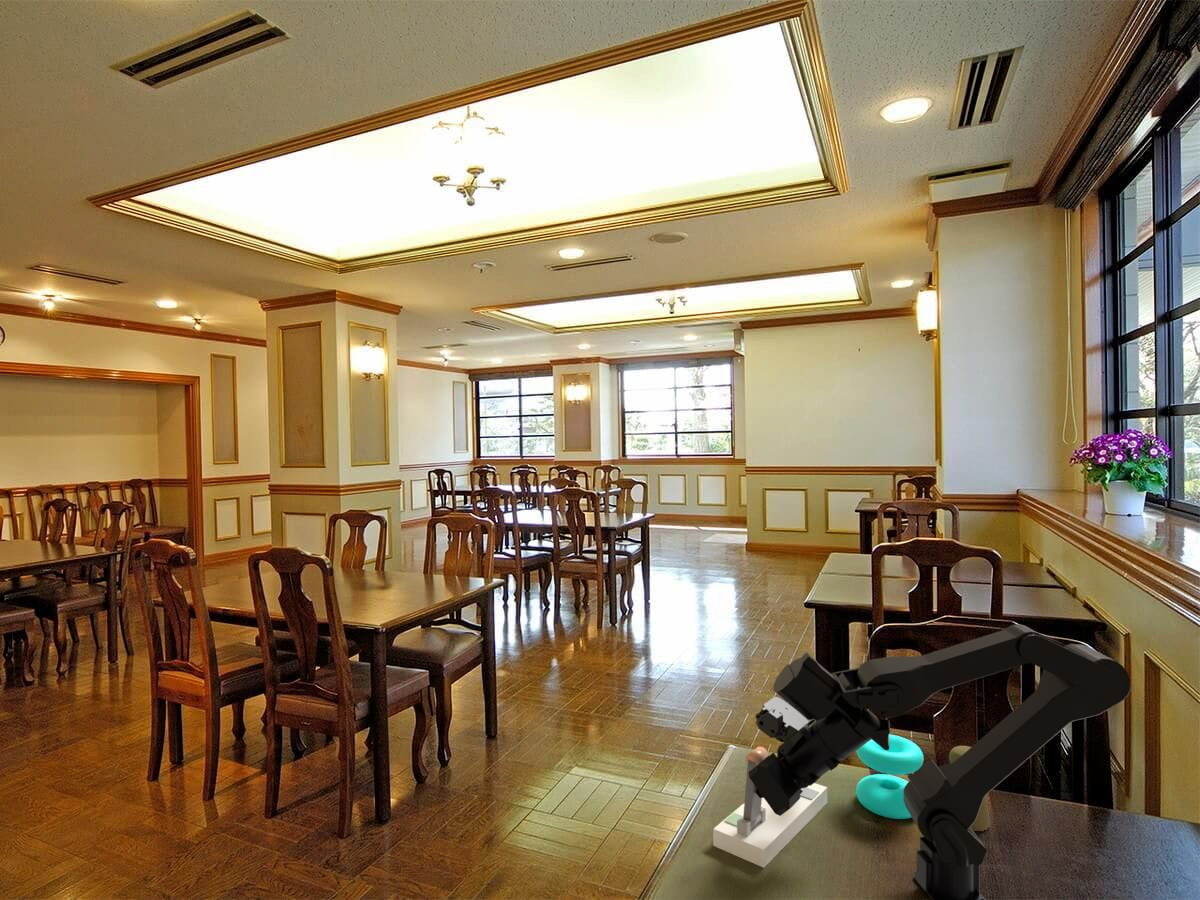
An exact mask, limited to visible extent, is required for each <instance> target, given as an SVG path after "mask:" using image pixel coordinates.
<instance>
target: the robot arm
mask: <svg viewBox="0 0 1200 900" xmlns="http://www.w3.org/2000/svg"><path fill="white" fill-rule="evenodd" d="M1028 664H1032V665H1034V666H1036V667H1037V668H1040V669H1043V671H1042V673H1041V675H1040V680H1039V682H1038V685H1037V688H1036V690H1035V691H1034V692H1033V693H1032V694H1031V695H1030V696H1029V697H1027V698H1026V699H1025V700H1024V701H1023V702H1021V704H1019V705H1018V706H1017V707H1016V708H1015V709H1014V710H1012V711H1011V712H1010V713H1009V714H1008V715H1006V716H1005V717H1004V718H1003V719H1002V720H1000V721H999V722H998V724H996V725H994V727H993V728H991V730H989V731H988V732H987V733H986V734H985V735H984V736H982V738H980V739H979V740H977V742H976V743H974V744H973V745H972V746H970V747H971V748H970V749H969V750H968V751H967V752H965V753H964V754H963V755H962V756H961V757H960V758H958V759H957V760H956V761H955V762H953V763H951V764H950V763H947V764H943V765H939V766H938V765H937V763H936V762H935V761H934V760H933V758H928V759H927V760H926V761H925V762H923V764H922V766H921V767H920V768H919V769H918V770H917V771H915V772H913V773H910V774H907V779H908V780H909V781H908V783H907V785H906V786H905V788H904V790H903V792H904V803H905V806H906V808H907V810H908V811H909V813H910V815H911V818H912V820H913V822H914V823H915V825H916V828H917V829H918V830H919V833H921V835H922V836H921V837H920V838H919V849H917V851H916V871H915V872H913V877H914V879H915V881H916V882H917V883H918V884H919V886H921V888H922V889H923V891H924V892H925V893H926V894H927V896H928V897H929V898H930V899H931V900H987V899H986V897H984V896H983V894H982V893H981V892H980V890H981V889H980V888H981V887H980V885H981V884H980V883H981V882H980V875H981V873H980V868H981V866H980V865H982V864H983V861H984V859H985V856H986V853H987V852H988V851H987V848H986V846H985V845H984V844H983V842H982V841H981V840H980V838H979V837H978V835H977V834H976V833H975V832H974V831H973V830H972V828H971V826H972V825H973V823H974V822H975V821H976V818H977V816H978V813H979V810H980V807H981V804H982V801H983V799H984V797H985V796H986V797H987V795H988V794H989V793H990V792H991V791H992V790H994V789H995V788H997V786H998V785H999V784H1000V783H1002V782H1003V781H1004V780H1006V778H1008V777H1009V776H1010V775H1011V774H1012V773H1013V772H1015V771H1016V770H1017V769H1018V768H1019V767H1020V766H1022V765H1023V764H1024V763H1025V762H1026V761H1027V760H1028V759H1030V758H1031V757H1032V756H1033V755H1034V754H1036V753H1037V752H1038V751H1039V750H1040V749H1041V748H1042V747H1044V746H1045V745H1046V744H1047V743H1048V742H1049V741H1051V740H1052V739H1053V738H1054V737H1055V736H1056V735H1058V734H1059V733H1060V732H1062V730H1064V729H1065V728H1066V727H1067V726H1068V725H1070V724H1071V723H1072V722H1075V721H1079V720H1084V719H1087V718H1092V717H1095V716H1100V715H1101V714H1103V713H1105V712H1106V711H1108V710H1110V709H1112V708H1113V707H1115V706H1117V705H1118V704H1121V703H1122V702H1123V701H1124V700H1125V699H1126V698H1127V697H1128V696H1129V695H1130V692H1131V690H1132V687H1131V684H1130V683H1131V680H1130V676H1129V673H1128V671H1127V669H1126V668H1125V667H1124V665H1122V664H1121V663H1120V662H1118V661H1116V660H1114V659H1113V658H1111V657H1108V656H1107V655H1105V654H1102V653H1101V652H1099V651H1097V650H1095V649H1093V648H1091V647H1090V646H1087V645H1084V644H1078V643H1077V644H1075V643H1074V644H1073V643H1070V644H1063V643H1061V641H1060V642H1059V641H1057V640H1055V639H1053V638H1050V637H1048V636H1046V635H1043V634H1041V633H1040V632H1037V631H1036V630H1033V629H1031V627H1028V626H1026V625H1024V624H1020V623H1019V624H1018V623H1017V624H1012V625H1009V626H1008V627H1007V626H1006V628H1005V629H1002V630H1000V631H996V632H994V633H990V634H985V635H983V636H980V637H977V638H974V639H969V640H968V641H964V642H961V643H959V644H955V645H951V646H949V647H946V648H943V649H938V650H936V651H932V652H930V653H926V654H923V655H916V656H899V655H897V656H896V655H895V656H888V657H881V658H879V657H878V658H873V659H868V660H867V661H864V662H863V663H862V664H860V665H859V667H855V668H850V669H845V670H840V671H835V672H830V671H828V670H827V669H826V668H825V667H824V666H823V665H821V664H820V663H819V662H818V661H817V659H816V658H815V657H814V656H813V655H812V654H810V653H809V652H805V653H804V654H803V655H802V656H801V657H799V658H796V659H794V660H793V661H792V662H790V663H789V664H788V663H787V664H786V665H785V666H784V667H783V668H782V670H780V673H779V674H778V675H777V677H776V679H775V681H774V683H773V686H772V690H773V692H774V693H776V694H777V695H778V697H777V696H773V697H772V698H771V699H769V700H767V701H766V702H765V703H764V704H763V705H762V707H761V709H760V711H759V712H758V713H756V714H755V724H756V726H757V728H758V730H760V731H761V732H762V733H763V734H765V735H766V736H768V738H770V739H776V741H778V742H781V744H780V745H779V746H778V747H777V751H776V753H777V755H776V754H775V752H774V751H773V752H772V753H770V755H768V757H766V758H765V759H764V760H763V761H761V762H760V763H759V764H758V765H756V766H755V767H754V768H753V769H752V770H750V771H749V772H748V773H749V778H750V779H751V781H752V782H753V784H754V785H755V786H756V788H757V789H756V794H757V795H758V797H759V798H764V799H765V800H766V802H767V803H768V804H769V806H770V807H771V809H772V810H773V811H774V813H775V814H777V815H779V816H781V815H782V814H784V813H785V812H786V811H788V810H789V809H790V808H791V807H792V806H793V805H794V804H795V803H796V802H797V801H798V800H799V799H800V794H801V793H802V792H803V791H802V790H801V789H802V788H807V787H808V786H811V785H812V784H814V783H816V782H817V781H819V779H820V778H821V777H822V776H823V775H825V774H826V773H828V772H829V771H833V770H834V769H836V768H837V767H838V766H839V765H840V764H841V763H842V762H843V761H844V760H845V759H847V758H849V757H850V755H852V754H853V753H855V752H856V750H858V749H859V748H860V747H862V746H863V745H864V744H866V743H867V742H869V741H870V740H871V739H872V740H873V741H875V742H876V743H877V744H878V745H879V746H880V747H882V748H883V749H884V750H889V734H890V732H891V726H890V725H891V723H890V720H889V719H894V718H895V719H896V718H899V717H900V716H903V715H905V714H907V713H909V712H910V711H913V710H916V708H919V707H921V706H922V705H924V703H925V702H926V701H927V700H928V699H930V698H931V697H932V696H933V695H934V694H937V693H938V692H941V691H943V690H946V689H949V688H954V687H956V686H959V685H962V684H963V685H964V684H966V683H969V682H972V681H976V680H979V679H982V678H986V677H990V676H992V675H995V674H998V673H1002V672H1005V671H1008V670H1012V669H1016V668H1017V667H1021V666H1025V665H1028ZM780 697H781V698H780ZM870 710H871V711H870ZM875 714H877V715H878V716H880V717H883V718H880V717H878V716H877V715H875ZM884 718H885V719H884Z"/></svg>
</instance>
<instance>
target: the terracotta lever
mask: <svg viewBox="0 0 1200 900" xmlns="http://www.w3.org/2000/svg"><path fill="white" fill-rule="evenodd" d="M768 756H769V753H768V750H767V749H766V748H765V747H763V746H757V747H755V748H754V749H753V750H752V751H750V752H749V753H748V754H747V755H745V763H746V764H747V771H746V779H745V780H746V782H745V795H744V803H743V804H744V815H743V819H745V820H747V821H750V822H751V829H752V828H753V827H754V826H755V825H756V824H757V823H758V822H759V821H760V820H761V802H762V798H759V797H758V795H757V794H756V789H757V788H756V786H755V785H754V784H753V782H752V781H751V779H750V778H749V773H748V772H749V771H750V770H752V769H753V768H754V767H755V766H756V765H758V764H759V763H760V762H761V761H763V760H764V759H765V758H766V757H768Z"/></svg>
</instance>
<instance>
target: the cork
mask: <svg viewBox="0 0 1200 900" xmlns="http://www.w3.org/2000/svg"><path fill="white" fill-rule="evenodd" d="M971 747H972V746H968V745H957V746H955V747H953V748H951V750H950V752H949V755H948V761H949V764H951V763H953V762H955V761H956V760H957V759H958V758H960V757H961V756H962V755H963V754H964V753H965V752H967V751H968V750H969V749H970V748H971ZM990 825H991V819H990V813H989V805H988V799H987V795H986V796H985V797H984V799H983V801H982V804H981V807H980V810H979V813H978V816H977V818H976V821H975V822H974V823H973V825H972V826H971V828H972V830H974V831H976V830H977V831H982V830H986V831H988V830H989V829H990V828H991V826H990ZM989 827H990V828H989ZM988 828H989V829H988ZM987 829H988V830H987ZM982 832H983V831H982Z"/></svg>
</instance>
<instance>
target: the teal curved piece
mask: <svg viewBox="0 0 1200 900" xmlns="http://www.w3.org/2000/svg"><path fill="white" fill-rule="evenodd" d="M855 752H856V755H857V757H858V758H859V760H860V761H861V762H862V763H863V764H864V765H866V766H867V767H869V768H870V769H872V770H874V771H877V772H879V773H877V774H876V773H875V774H871V775H866V776H865V777H863V778H861V779H860V780H859V781H858V782H857V784H856V789H855V795H856V798H857V800H858V801H859V803H860V804H861V805H862V806H863V807H864V808H865V809H866V810H868V811H870V812H871V813H874V814H875V815H878V816H880V817H881V816H882V817H884V818H889V819H895V820H896V819H897V820H903V819H904V820H905V819H910V818H912V817H911V815H910V813H909V811H908V810H907V808H906V806H905V803H904V792H903V790H904V788H905V786H906V785H907V783H908V782H909V781H907V779H903V778H901V777H899V776H903V775H911V774H914V773H915V772H917V771H918V770H919V769H920V768H921V767H922V766H923V764H924V753H923V752H922V750H921V748H920V747H919V746H918V744H916V743H914V742H913V741H911V740H910V739H908V738H905V737H902V736H899V735H894V734H890V733H889V750H884V749H883V748H882V747H880V746H879V745H878V744H877V743H876V742H875V741H873V740H872V739H871V740H870V741H869V742H867V743H866V744H864V745H863V746H862V747H860V748H859V749H858V750H856V751H855ZM880 773H881V774H880Z"/></svg>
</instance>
